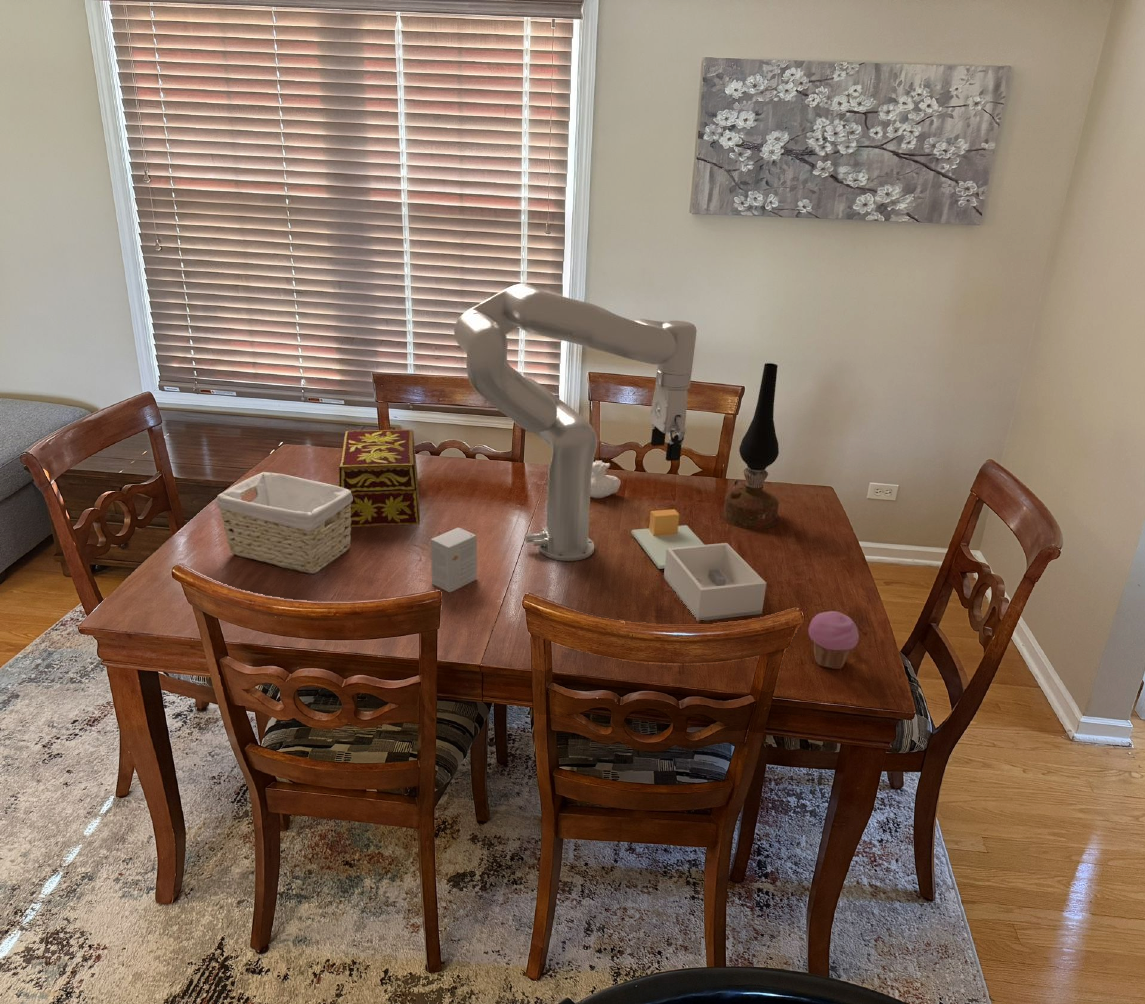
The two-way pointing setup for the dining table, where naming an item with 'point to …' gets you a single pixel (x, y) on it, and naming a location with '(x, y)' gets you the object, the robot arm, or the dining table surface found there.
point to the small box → (454, 559)
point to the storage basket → (287, 521)
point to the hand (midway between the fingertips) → (664, 452)
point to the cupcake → (832, 638)
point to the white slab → (664, 535)
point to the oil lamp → (757, 463)
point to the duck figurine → (602, 481)
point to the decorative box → (380, 477)
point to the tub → (714, 581)
